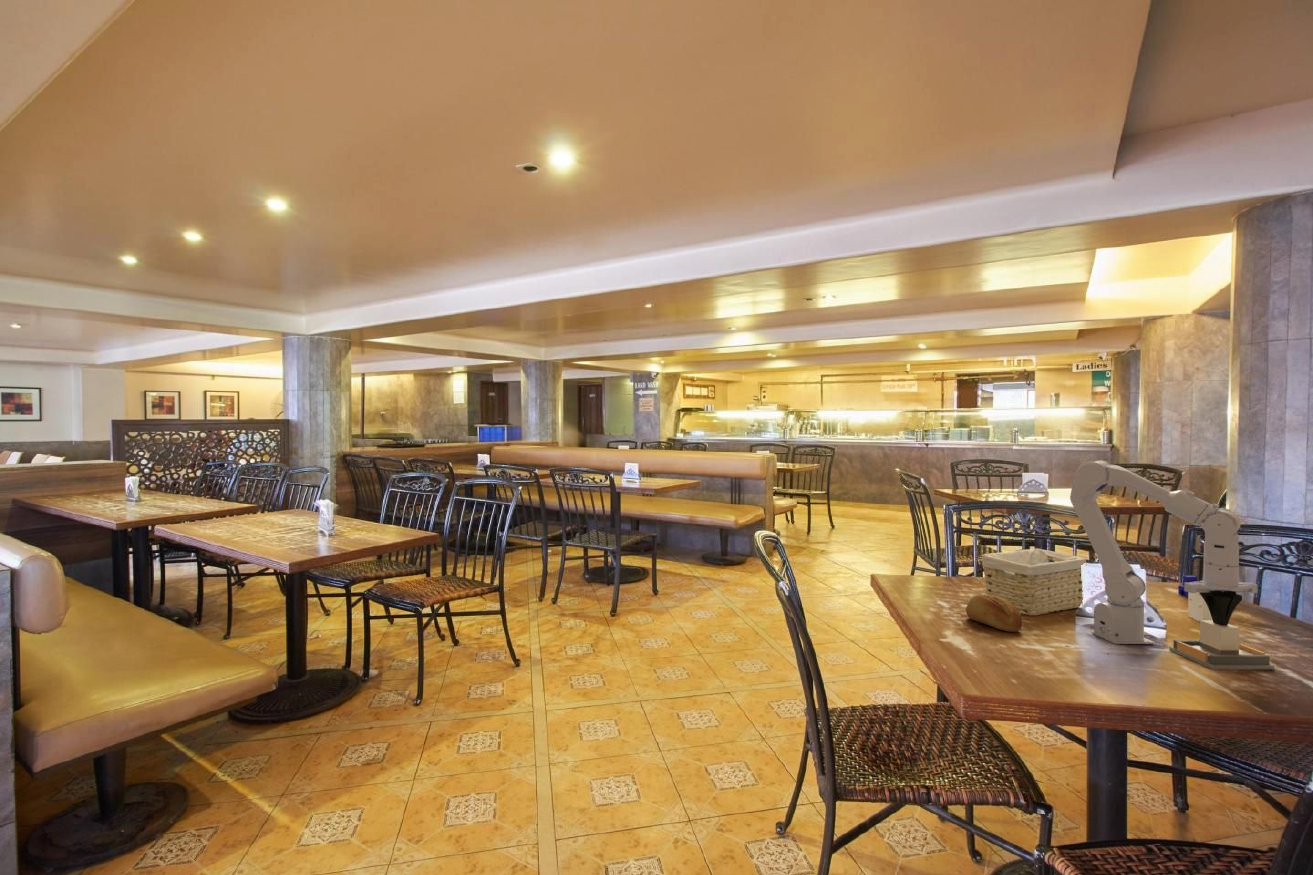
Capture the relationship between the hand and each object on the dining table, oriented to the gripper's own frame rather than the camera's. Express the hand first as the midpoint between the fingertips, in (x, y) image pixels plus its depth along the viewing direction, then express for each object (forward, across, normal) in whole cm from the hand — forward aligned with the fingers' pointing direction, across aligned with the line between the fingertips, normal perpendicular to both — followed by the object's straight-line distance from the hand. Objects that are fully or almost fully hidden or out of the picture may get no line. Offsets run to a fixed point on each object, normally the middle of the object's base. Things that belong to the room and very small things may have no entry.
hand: (1220, 624), depth 133 cm
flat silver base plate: (+7, 0, 0) cm, 7 cm away
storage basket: (+8, -16, +41) cm, 44 cm away
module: (+6, 0, 0) cm, 6 cm away
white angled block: (+8, +21, +27) cm, 35 cm away
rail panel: (+8, 0, 0) cm, 8 cm away
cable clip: (+8, +38, +46) cm, 60 cm away
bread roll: (+8, -38, +23) cm, 45 cm away
